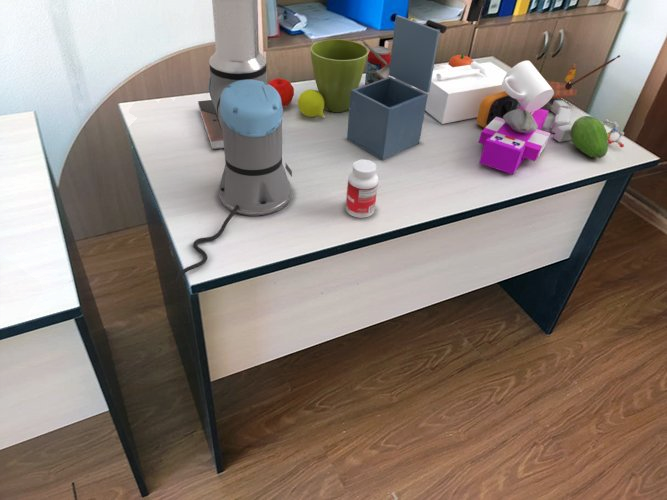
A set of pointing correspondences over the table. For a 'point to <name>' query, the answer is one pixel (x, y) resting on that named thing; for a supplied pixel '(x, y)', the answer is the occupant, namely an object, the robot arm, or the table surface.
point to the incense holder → (567, 89)
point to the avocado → (590, 136)
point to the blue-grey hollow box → (386, 117)
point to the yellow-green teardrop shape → (311, 103)
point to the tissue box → (462, 90)
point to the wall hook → (385, 70)
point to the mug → (527, 86)
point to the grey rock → (520, 121)
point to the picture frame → (211, 123)
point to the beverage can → (376, 63)
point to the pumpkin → (460, 61)
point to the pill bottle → (362, 189)
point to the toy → (512, 143)
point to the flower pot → (337, 70)
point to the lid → (414, 51)
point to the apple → (283, 90)
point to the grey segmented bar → (561, 121)
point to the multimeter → (495, 107)
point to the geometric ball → (442, 66)
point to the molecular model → (614, 132)
